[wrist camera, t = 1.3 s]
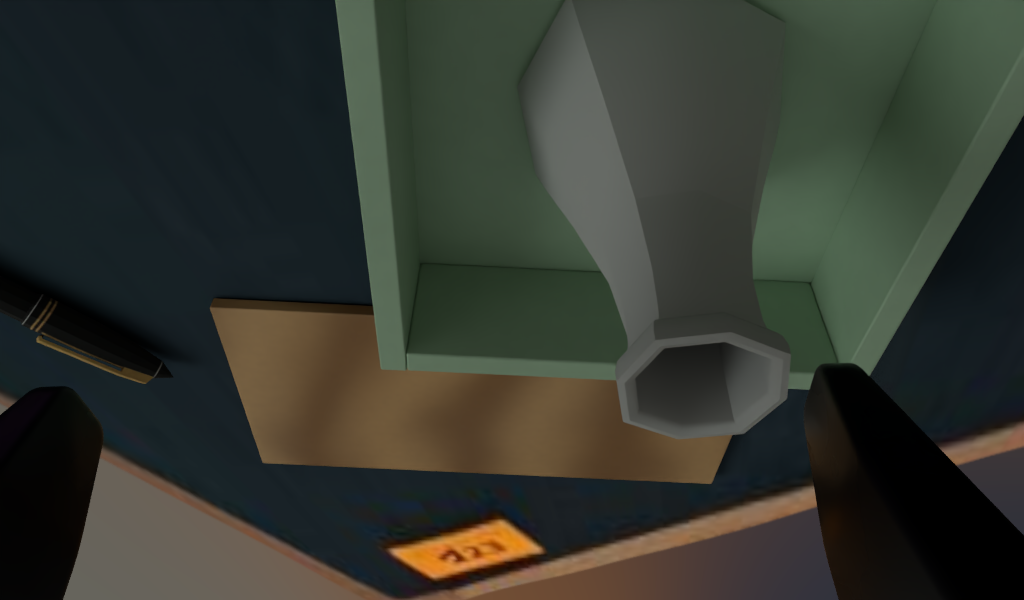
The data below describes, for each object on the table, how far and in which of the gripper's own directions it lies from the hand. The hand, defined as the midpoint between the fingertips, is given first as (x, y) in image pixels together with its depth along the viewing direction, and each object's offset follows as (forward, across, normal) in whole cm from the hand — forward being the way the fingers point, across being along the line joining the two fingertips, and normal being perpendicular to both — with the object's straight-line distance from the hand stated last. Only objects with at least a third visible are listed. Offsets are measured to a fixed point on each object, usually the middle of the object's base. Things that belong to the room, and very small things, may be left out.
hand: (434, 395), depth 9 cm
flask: (+13, -4, +4) cm, 14 cm away
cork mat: (+13, +2, +18) cm, 22 cm away
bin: (+13, -4, +4) cm, 15 cm away
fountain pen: (+13, +19, +9) cm, 25 cm away
